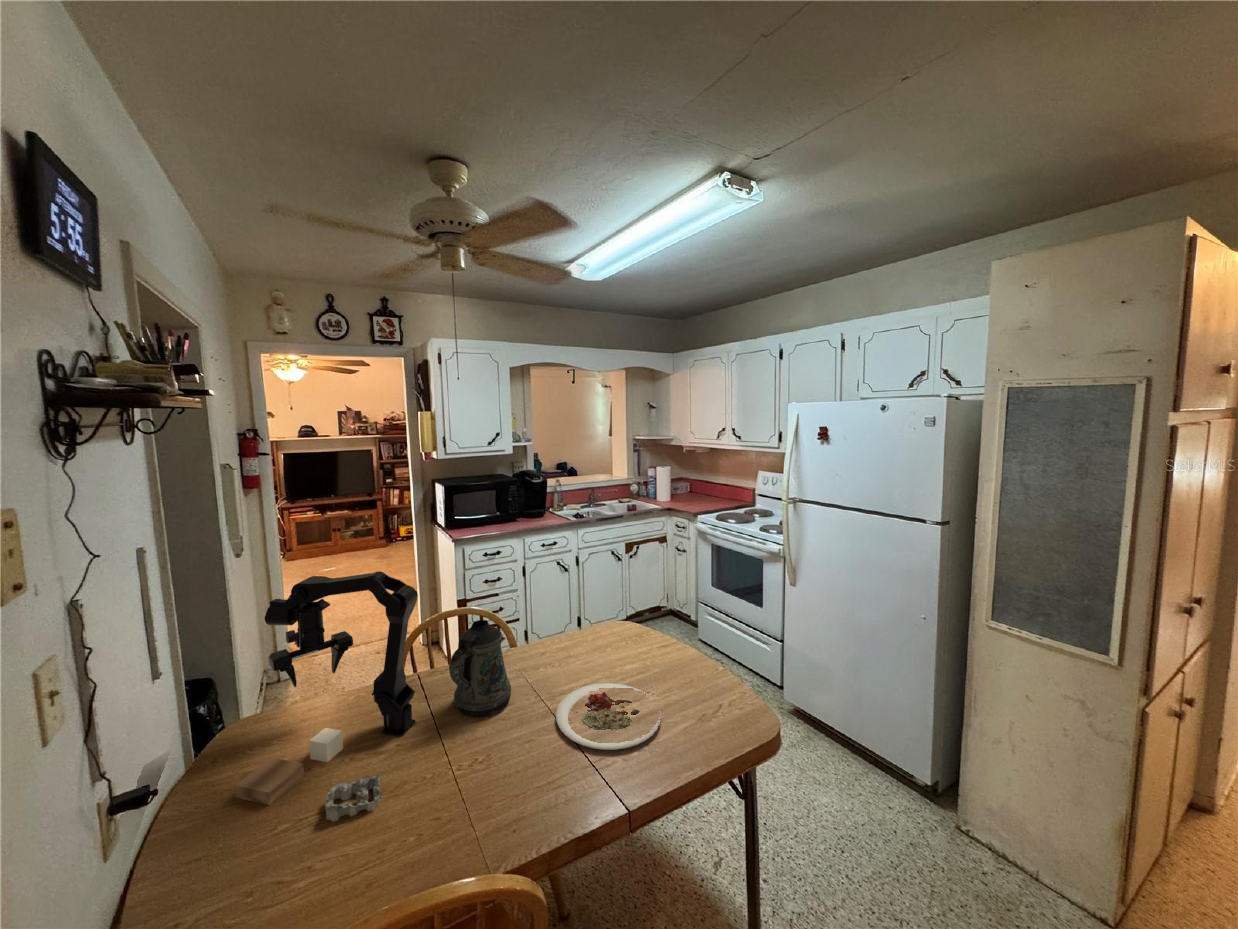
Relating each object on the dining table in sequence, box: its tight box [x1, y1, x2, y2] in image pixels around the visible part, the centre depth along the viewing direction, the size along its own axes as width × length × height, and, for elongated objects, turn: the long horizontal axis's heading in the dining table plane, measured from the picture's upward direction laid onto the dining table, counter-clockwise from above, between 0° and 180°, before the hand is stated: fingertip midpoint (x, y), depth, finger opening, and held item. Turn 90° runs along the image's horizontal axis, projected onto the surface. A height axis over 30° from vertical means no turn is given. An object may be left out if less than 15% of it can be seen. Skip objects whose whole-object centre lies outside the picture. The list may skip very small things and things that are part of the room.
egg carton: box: [324, 773, 381, 823], centre depth 107 cm, size 11×8×4 cm
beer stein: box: [448, 619, 512, 719], centre depth 143 cm, size 16×19×25 cm
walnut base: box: [235, 757, 305, 806], centre depth 112 cm, size 9×9×3 cm
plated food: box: [555, 682, 662, 751], centre depth 140 cm, size 30×30×3 cm
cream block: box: [309, 727, 344, 763], centre depth 123 cm, size 5×5×5 cm
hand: (314, 679), depth 132 cm, fingers open, 9 cm apart
